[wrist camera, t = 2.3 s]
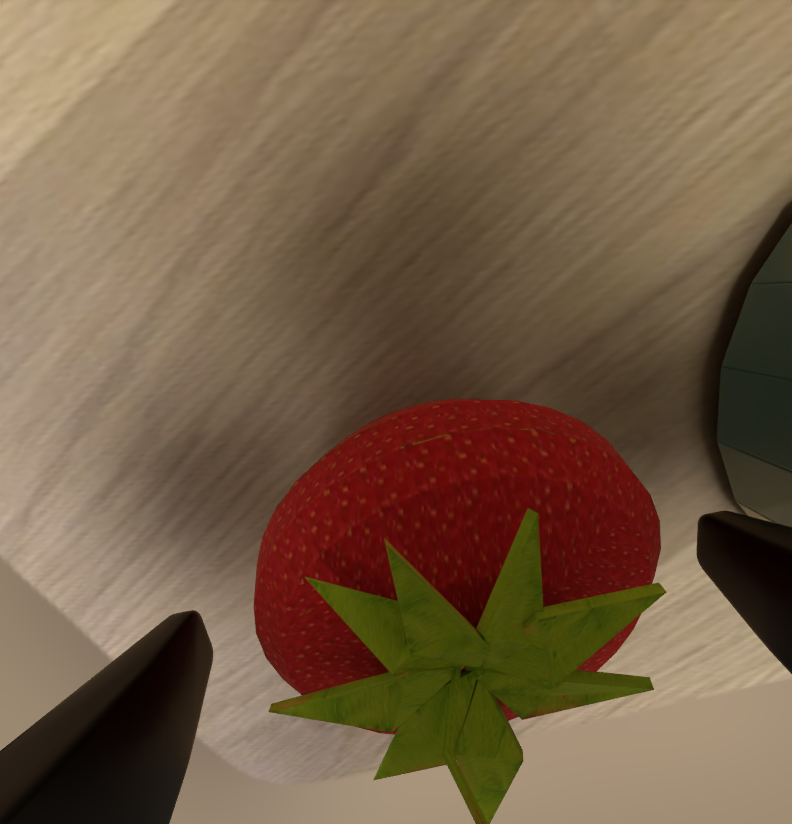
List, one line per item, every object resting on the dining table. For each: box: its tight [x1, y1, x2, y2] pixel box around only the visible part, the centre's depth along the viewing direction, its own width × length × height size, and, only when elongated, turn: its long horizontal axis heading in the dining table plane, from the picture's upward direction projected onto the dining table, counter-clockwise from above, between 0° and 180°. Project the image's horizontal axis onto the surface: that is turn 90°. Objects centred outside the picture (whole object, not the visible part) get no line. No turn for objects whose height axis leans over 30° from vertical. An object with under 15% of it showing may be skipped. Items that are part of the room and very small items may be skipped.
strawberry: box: [254, 399, 666, 824], centre depth 8 cm, size 6×8×10 cm
